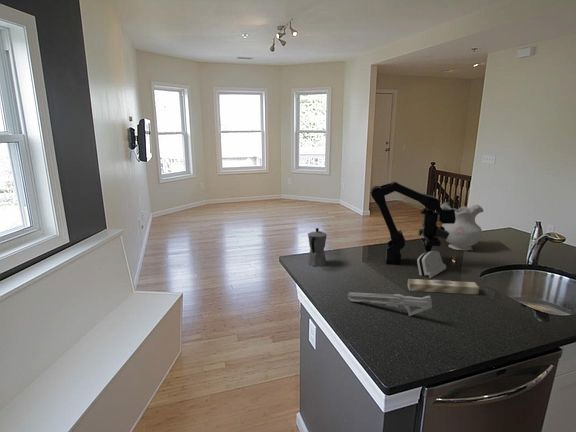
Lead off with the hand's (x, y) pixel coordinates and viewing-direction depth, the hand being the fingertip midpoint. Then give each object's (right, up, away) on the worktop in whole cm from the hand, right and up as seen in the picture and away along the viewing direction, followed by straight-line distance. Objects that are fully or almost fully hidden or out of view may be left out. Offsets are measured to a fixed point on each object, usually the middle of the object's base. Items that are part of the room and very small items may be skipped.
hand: (427, 254), depth 169 cm
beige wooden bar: (-5, -12, -26) cm, 29 cm away
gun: (-31, -16, -41) cm, 54 cm away
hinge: (-1, -7, -7) cm, 10 cm away
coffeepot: (-53, -5, +4) cm, 54 cm away
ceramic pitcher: (+26, +1, +25) cm, 36 cm away
